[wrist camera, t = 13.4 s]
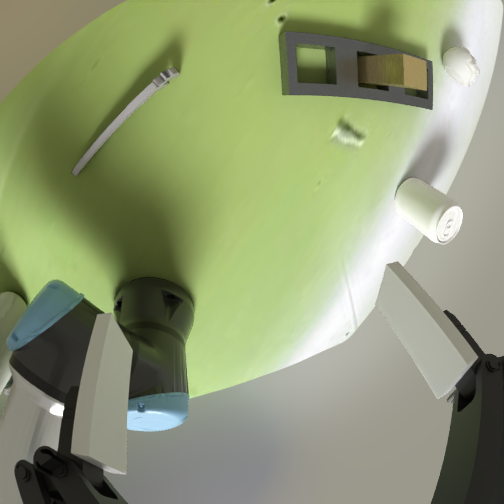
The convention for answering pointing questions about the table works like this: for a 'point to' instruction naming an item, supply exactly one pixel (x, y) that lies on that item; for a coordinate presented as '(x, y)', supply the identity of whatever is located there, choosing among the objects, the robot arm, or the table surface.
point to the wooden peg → (393, 71)
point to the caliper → (127, 114)
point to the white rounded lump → (460, 65)
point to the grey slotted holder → (344, 70)
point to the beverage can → (428, 210)
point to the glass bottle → (8, 330)
